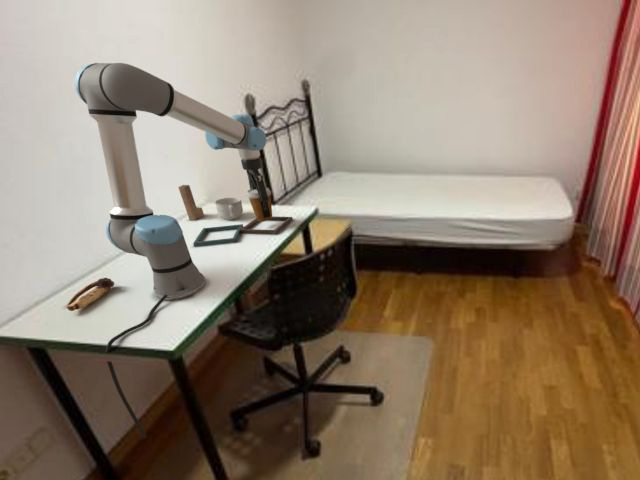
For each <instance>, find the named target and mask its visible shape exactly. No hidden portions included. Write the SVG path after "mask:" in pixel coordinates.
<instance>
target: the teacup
mask: <svg viewBox="0 0 640 480" xmlns="http://www.w3.org/2000/svg"><path fill="white" fill-rule="evenodd" d="M242 203H243V202H242V199H241V197H224V198H219V199H217V200H215V201H214V204H215V206H216V210H217V214H218V216H219V217H220V218H222V219H223V220H228V221H229V220H232V221H233V220H237V219H239V218H240V217H241V216H242V215H243V212H244V209H243V204H242Z"/></svg>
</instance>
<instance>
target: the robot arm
mask: <svg viewBox="0 0 640 480" xmlns="http://www.w3.org/2000/svg"><path fill="white" fill-rule="evenodd" d="M74 87H75V91H76V93H77V95H78V97H79V98H80V99H81V100H82V101H83V102H84V103H85V104H86V105H87V110H88V116H90V117H91V118H92V119H93V120H95V122H96V123H97V126H98V127H97V128H98V132H99V133H98V134H99V139H100V143H101V148H102V152H103V153H102V154H103V157H104V162H105V167H106V168H105V169H106V173H107V177H108V182H109V186H110V191H111V197H112V202H113V208H111V209H110V210H109V216H110V219H109V222H107V224H106V227H105V231H106V237H107V239H108V240H109V242H110V243H111V245H112V246H113V247H115V248H117V249H119V250H121V251H123V252H125V253H128V254H133V255H137V256H141V257H145V258H147V261H148V264H149V265H150V268H151V270H152V275H153V277H152V279H153V292H154V294H155V297H156V298H157V299H159V300H158V301H157V302H156V303H155V304H154V306H153V307H152V308H151V309H150V311H149V313H148V315H147V318H146V319H145V320H143V321H142V322H140V323H138V324H136V325H134V326H131V327H130V328H127V329H125V330H123V331H121V332H120V333H119V334H117V335H115V336H113V337H112V338H111V339H110V340H109V341H108V342H107V344H106V347H105V354H108V353H109V352H111V347H112V345H113V343H114V342H116V341H117V340H119V339H120V338H122V337H123V336H125V335H127V334H128V333H130V332H133V331H135V330H137V329H139V328H141V327H143V326H145V325H146V324H148V323H149V322H150V321H151V319H152V318H153V314H154V312H156V310H157V309H158V308H159V307H160V305H162V303H163V302H164V301H175V300H182V299H185V298H188V297H191V296H193V295H196V294H197V293H199V292H201V291H202V290H203V289H204V288H205V287H206V285H207V280H206V278H205V276H204V274H203V273H201V272H200V270H199V269H198V267H197V266H196V264H195V263H194V262H193V259H192V257H191V254H190V251H189V248H188V245H187V242H186V239H185V236H184V233H183V229H182V228H181V225H180V223H179V221H178V220H177V219H176V218H175V217H174V216H171V215H167V214H159V215H158V214H154V210H153V209H152V208H150V207H149V206H148V205H147V201H146V196H145V190H144V185H143V183H144V182H143V177H142V172H141V166H140V160H139V154H138V149H137V144H136V138H135V132H134V127H133V123H135V120H136V119H137V118H138V116H137V111H139V112H146V113H149V114H153V115H155V116H158V117H161V118H163V117H166V116H167V117H170V118H172V119H174V120H177V121H179V122H181V123H184V124H186V125H189V126H191V127H193V128H194V129H195V128H196V129H198V130H201V131H203V132H205V133H204V136H205V141H206V143H207V145H208V146H209V147H210V148H211V149H213V150H215V151H217V150H223V149H236V150H238V155H239V158H240V159H241V160H240V162H241V166H242V169H243V170H244V171H246V174H247V178H248V179H247V180H248V185H249V190H250V189H253V190H254V189H257V192H258V194H259V197H260V201H259V203H260V204H261V208H262V213H263V217H264V218H267V217H271V216H270V211H269V207H268V202H267V201H269V199H268V196H267V192H266V188H265V187H266V185H265V182H264V176H263V175H262V174H261V172H260V171H259V170H260V169H262V168H263V166H264V165H263V161H262V157H260V156H261V153H260V151H261V150H263V149H265V147H266V145H267V136H266V135H267V134H266V133H265V131H264V130H263V128H260V127H257V126H255V125H254V120H253V118H252V116H251V115H250V114H246V113H243V114H235V115H232V116H229V115H227V114H224V113H222V112H220V111H218V110H217V109H214V108H212V107H210V106H208V105H206V104H204V103H202V102H200V101H199V100H196V99H195V98H192V97H190V96H188V95H186V94H183V93H182V92H180V91H178V90H175V88H174V86H173V85H172V84H171V83H169V82H167V80H166V81H165V80H163V79H162V78H160V77H157V76H156V75H153V74H152V73H150V72H148V71H145V70H143V69H142V68H139V67H137V66H134V65H131V64H128V63H125V62H94V63H90V64H87V65H83V66H82V67H81V68H80V69H79V70H78V71H77V73H76V75H75V79H74ZM263 198H264V199H263ZM106 363H107V366H108V369H109V372H110V375H111V378H112V381H113V383H114V386H115V388H116V390H117V392H118V395H119V398H121V400H122V403H123V405H124V407H125V408H126V409H127V412H128V414H129V415H130V417H131V418H132V420H133V422H134V424H135V426H136V427H137V429H138V430H139V434H140V435H141V436H142V437H141V438H142V439H146V438H147V434H146V432H145V431H144V428H143V427H142V424H141V422H140V421H139V419H138V418H137V416H136V414H135V412H134V411H133V409H132V407H131V405H130V403H129V402H128V399H127V398H126V396H125V394H124V392H123V389H122V387H121V385H120V382H119V380H118V377H117V374H116V372H115V369H114V368H115V367H114V365H113V363H112V361H106Z"/></svg>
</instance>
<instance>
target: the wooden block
mask: <svg viewBox="0 0 640 480" xmlns="http://www.w3.org/2000/svg"><path fill="white" fill-rule="evenodd" d="M178 192H179V194H180V197H181V199H182V202H183V205H184V208H185V211H186V215H187V217H188V221H198V220H199V219H200V218H202V217H204V216H205V212H204V210H203V208H202V207H197V205H196V202H195V199H194V196H193V192H192V189H191V186H190V185H189V184H182V185H179V186H178Z"/></svg>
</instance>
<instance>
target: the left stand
mask: <svg viewBox="0 0 640 480" xmlns="http://www.w3.org/2000/svg"><path fill="white" fill-rule="evenodd" d="M243 227H244V224H243V223H241V224H231V225H223V226H222V225H221V226H213V227H203V228H202V230H201V231H200V233H199V234H198V235H197V237H196V238H195V240H194V242H193V243H192V244H193V246H194V247H206V246H214V245H215V246H216V245H224V244H234V243H237V242H238V240H239V238H240V236H241V234H242V233H240V229H242V228H243ZM231 230H232V231H233V230H236V231H235V233H234V235H233V237H230V238H219V239H211V240H210V239H209V240H203V239H204V237H205V236H206V234H207V233H214V232H223V231H231Z"/></svg>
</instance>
